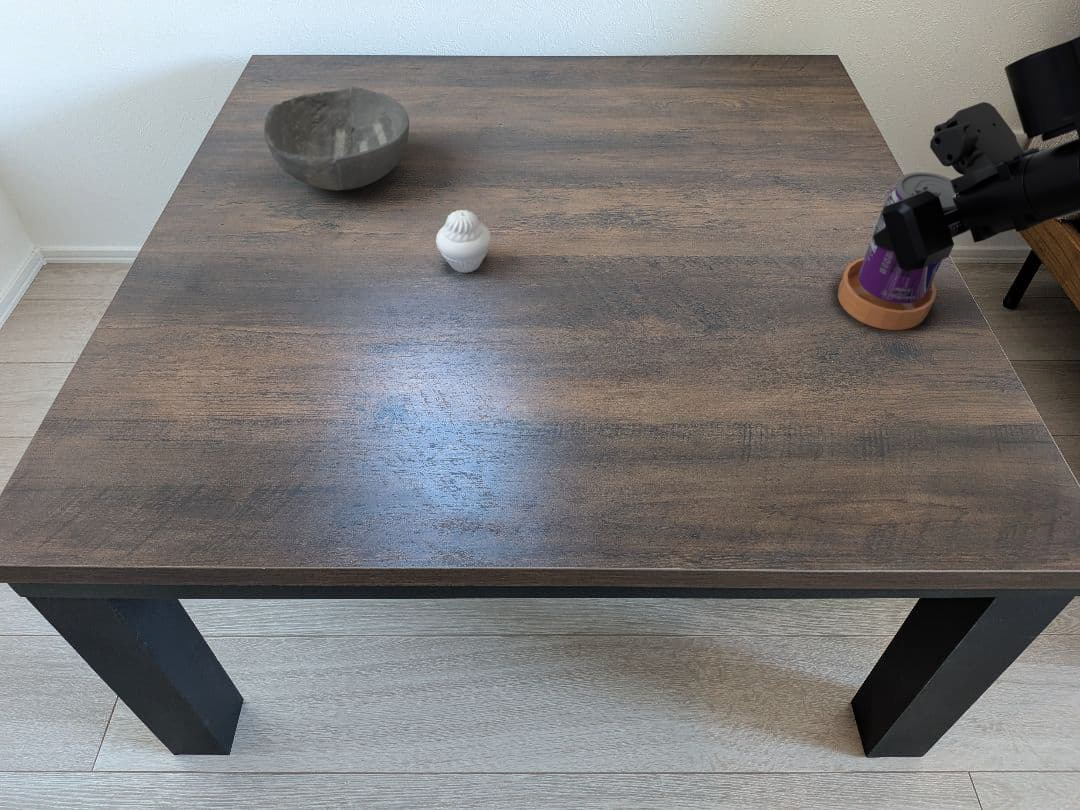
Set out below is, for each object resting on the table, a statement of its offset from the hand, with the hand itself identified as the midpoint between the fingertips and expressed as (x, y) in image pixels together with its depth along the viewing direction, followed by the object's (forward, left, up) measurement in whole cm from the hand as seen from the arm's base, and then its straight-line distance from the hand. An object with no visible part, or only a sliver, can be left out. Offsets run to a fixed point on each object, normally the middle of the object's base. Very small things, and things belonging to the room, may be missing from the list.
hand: (900, 229), depth 80 cm
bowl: (+65, -11, -9) cm, 67 cm away
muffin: (+45, +4, -9) cm, 46 cm away
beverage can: (-1, +1, -7) cm, 7 cm away
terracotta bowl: (-1, +1, -9) cm, 9 cm away
